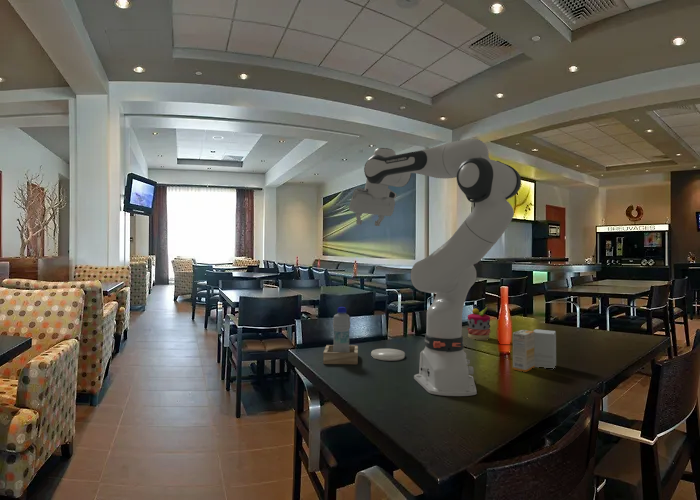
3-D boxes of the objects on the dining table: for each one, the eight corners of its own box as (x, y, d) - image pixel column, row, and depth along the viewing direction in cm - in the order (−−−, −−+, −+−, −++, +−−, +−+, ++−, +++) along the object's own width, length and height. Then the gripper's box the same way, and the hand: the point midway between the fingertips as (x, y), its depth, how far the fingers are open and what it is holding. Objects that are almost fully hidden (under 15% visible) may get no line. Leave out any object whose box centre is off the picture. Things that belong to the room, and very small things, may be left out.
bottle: (350, 357, 155) (351, 305, 155) (349, 362, 148) (349, 308, 148) (333, 357, 156) (334, 305, 156) (331, 361, 149) (331, 307, 149)
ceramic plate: (406, 361, 151) (406, 357, 151) (371, 360, 151) (371, 356, 151) (402, 352, 164) (402, 348, 164) (370, 351, 164) (370, 348, 164)
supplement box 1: (521, 365, 147) (521, 329, 147) (535, 368, 143) (535, 331, 143) (511, 369, 141) (512, 332, 141) (525, 372, 137) (525, 334, 137)
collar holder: (357, 364, 145) (357, 353, 145) (323, 363, 146) (323, 352, 146) (357, 355, 158) (357, 345, 158) (326, 355, 158) (326, 344, 158)
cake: (468, 340, 189) (469, 308, 189) (466, 335, 199) (466, 305, 199) (492, 341, 187) (492, 308, 187) (488, 336, 197) (488, 305, 197)
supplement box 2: (556, 365, 147) (556, 330, 147) (554, 370, 141) (554, 334, 141) (534, 362, 151) (534, 328, 151) (531, 366, 145) (531, 331, 145)
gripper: (359, 188, 147) (351, 225, 150) (399, 195, 159) (391, 228, 162) (349, 185, 152) (342, 221, 155) (389, 192, 164) (381, 224, 167)
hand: (368, 225), depth 159 cm, fingers open, 8 cm apart
